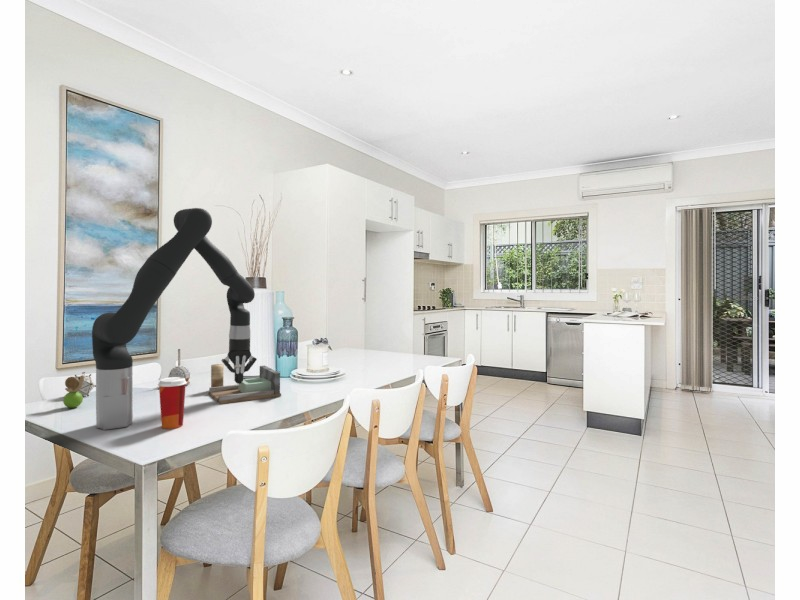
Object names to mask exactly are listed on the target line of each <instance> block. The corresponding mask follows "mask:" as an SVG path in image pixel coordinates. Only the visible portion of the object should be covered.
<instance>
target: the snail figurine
mask: <svg viewBox="0 0 800 600" xmlns="http://www.w3.org/2000/svg"><path fill="white" fill-rule="evenodd" d="M81 373H82V375H79V376H80V382H79V380H78V379H77V378H76V377H75V376H70V377H67V378H66V379H65V381H64V385H65V387H66V388H64V390H65V391H66V392H67V393H65V395H64V397H63V399H62V402H63V405H64V406H65V407H67V408H70V409H74V408H77V407H79V406H80V405H81V404H82V403H83V400H84V397H83V396H84V395H82V394H81V393H79V392H77V391H79V390H80V389H81V388H82V386H83V382H84V378H85V376H86V375H85V373H86V371H83V372H81Z"/></svg>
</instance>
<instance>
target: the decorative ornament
mask: <svg viewBox="0 0 800 600" xmlns="http://www.w3.org/2000/svg"><path fill="white" fill-rule="evenodd" d="M177 355H178V356H177V364H178V365H177V366H174V367H172V369H170V370H169V374H168V377H167V378H170V377H181V378H185V381H186V382H187V383H186V385H185V386H189V385H190V383H191V381H189V380H190V379H191V376H190V375H191V372H190V371H189V369H188V368H187V367H186V366H184V365H181V349H180V348H178V349H177Z"/></svg>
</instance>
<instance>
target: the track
mask: <svg viewBox="0 0 800 600" xmlns="http://www.w3.org/2000/svg"><path fill="white" fill-rule="evenodd" d="M262 377H263V378H265V379H267V380H269V381H270V382H271V390H264V391H256V392H248V393H242V392H240V391H239V384H230V385H223V386H219V387H211V386H209V389H208V395H210V397H212V398H213V399H214V400H215V401H216V402H217V403H218V404H220V405H223V404H224V405H225V404H227V405H228V404H234V403H242V402H248V401H256V400H257V399H258V400H265V398H266V399H271V398H272V397H273V398H280V397H279V396H281V397H282V393H281V372H279V371H277V370H275V369H272V368H270V367H269V366H266V365H260V366H259V378H262Z"/></svg>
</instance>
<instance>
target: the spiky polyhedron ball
mask: <svg viewBox="0 0 800 600" xmlns="http://www.w3.org/2000/svg"><path fill="white" fill-rule="evenodd" d="M80 376H81V375H77V374H74V377H76V378H77V379H78V380H79V382H80ZM84 376H85V378H84V382H83V386H82V388H81V389H80V390H79V391H77V392H79V393H81V394H82V396H87V397H88V396H90V395H89V393H90V392H91V391H92V390H93V388H96V384H94V382H93V379H92V377H91V376H92V373H90V374H89V375H84Z"/></svg>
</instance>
